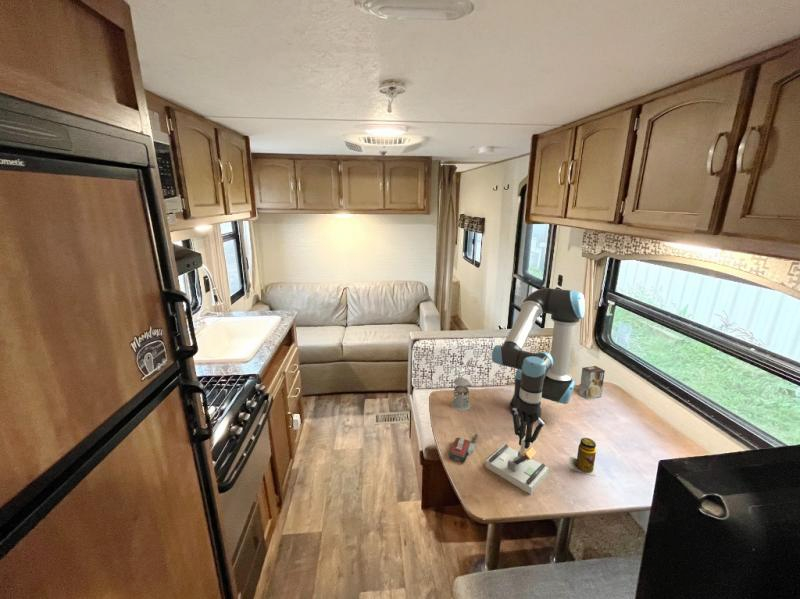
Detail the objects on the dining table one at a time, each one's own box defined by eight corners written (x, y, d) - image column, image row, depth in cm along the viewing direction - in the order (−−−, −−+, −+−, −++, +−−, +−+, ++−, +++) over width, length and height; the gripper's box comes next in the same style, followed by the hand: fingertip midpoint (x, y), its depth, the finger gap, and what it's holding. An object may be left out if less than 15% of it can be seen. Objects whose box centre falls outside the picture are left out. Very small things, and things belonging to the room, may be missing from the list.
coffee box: (592, 391, 191) (596, 365, 187) (601, 397, 185) (605, 370, 181) (578, 393, 189) (582, 367, 185) (587, 399, 183) (591, 372, 179)
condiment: (594, 476, 130) (598, 449, 127) (569, 468, 134) (573, 442, 131) (594, 464, 137) (598, 438, 134) (570, 457, 140) (574, 432, 138)
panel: (503, 450, 145) (504, 438, 143) (547, 474, 131) (549, 461, 130) (485, 467, 136) (486, 454, 134) (530, 494, 122) (532, 480, 121)
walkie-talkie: (468, 467, 136) (479, 437, 154) (468, 457, 135) (479, 429, 153) (447, 460, 140) (460, 432, 157) (447, 451, 139) (460, 424, 156)
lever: (517, 455, 136) (532, 446, 130) (521, 460, 135) (537, 451, 129) (509, 462, 132) (525, 453, 126) (513, 468, 131) (529, 459, 125)
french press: (449, 408, 177) (450, 364, 170) (454, 397, 187) (456, 355, 181) (468, 412, 173) (470, 367, 167) (472, 400, 183) (474, 358, 177)
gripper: (508, 395, 125) (502, 449, 131) (542, 410, 116) (534, 467, 122) (518, 388, 130) (512, 440, 136) (551, 402, 121) (544, 457, 127)
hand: (523, 453), depth 129 cm, fingers closed
